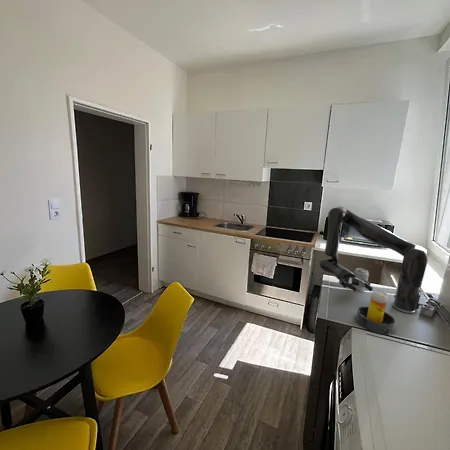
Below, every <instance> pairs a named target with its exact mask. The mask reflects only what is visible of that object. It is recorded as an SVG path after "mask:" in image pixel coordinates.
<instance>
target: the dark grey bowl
mask: <svg viewBox="0 0 450 450" xmlns="http://www.w3.org/2000/svg"><path fill="white" fill-rule="evenodd" d="M368 309H369V305H368V306H359V307H358V308H357V311H356V317H355V321H356V323H357V324H358V325H360V327H362V328H363V329H365V330H367V331H370V332H371V333H375V334H379V335H390V334H392V333H393V332H394V328H395V324H396V319H395V318H394V317H393V316H392V315H391V314H389V313H388V312H386V310H385V311H384V316H383V320H382V324H380V323H376V322H373V321H371V320H368V319H367V313H368Z"/></svg>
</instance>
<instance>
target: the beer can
mask: <svg viewBox="0 0 450 450" xmlns="http://www.w3.org/2000/svg"><path fill="white" fill-rule="evenodd" d="M369 300H370V301H369V303H368V304H369V305H368V307H369V309H368V313H367V319H368V320H371V321H373V322H376V323H380V324H382V320H383V316H384V311H385V312H386V308H387V307H386V306H387V302H388V293H386V292H385V291H384V290H380V289H379V290H378V289H374V290H372V291H371V295H370V299H369Z"/></svg>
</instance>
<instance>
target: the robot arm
mask: <svg viewBox="0 0 450 450" xmlns="http://www.w3.org/2000/svg"><path fill="white" fill-rule="evenodd" d="M342 224H344V225H346V226H349V227H350V228H352V229H353V230H354V231H355V232H356V233H358V234H359V236H361V237H362V238H363V239H365V240H367V241H368V242H371V243H372V244H375V245H377V246H380V247H382V248H385V249H390V250H392V251H394V252H395V253H397V254H399V255H401V256H402V257H403V258H402V263H401V267H400V273H399V277H398V282H397V286H396V291H395V294H394V296H393V298H394V299H393V303H392V307H393V308H394V309H396V310H397V311H399V312H402V313H406V314H414V313H416V312H417V311H418V310H419V308H420V307H423V305H424V304H422V303H420V299H421V294H420V292H421V289H422V284H423V281H424V277H425V273H426V269H427V266H428V261H429V252H428V251H427V249H425V248H424V247H422V246H421V245H417V244H415V243H412V242H410V241H407V240H405V239H404V238H401V237H399V236H397V235H396V234H394V232H393V233H392V232H391V231H389V230H387V229H385V228H383V227H382V226H380V225H378V224H376V223H374V222H371V221H369V220H367V219H365V218H362V217H360V216H358V215H357V214H355V213H354V212H352V211H350V210H349V209H347V208H345V207H344V206H335V207H333V208H331V209H330V210H329V211H328V214H327V236H326V241H325V242H326V243H325V247H324V248H325V249H324V255H326V256H327V257H330V258H322V259H320V260H319V267H320V269H321V270H322V271H325V272H326V273H329V274H331V275H332V276H334V277H335V278H336V279H337V280H338V283H339V284H340V285H341V286H342V287H343V288H344V289H346V288H348V289H350V290H351V291H353V292H357V290H356V287H355V286H359V287H365V288H366V289H365V290H367V291H369V292H373V289H374V287H373V286H372V285H371V282H370V281H369V280H368V281H367V280H365V279H364V278H361V280H360V279H358V278H356V276H355V275H354V273H353V272H352V271H351V270H349V269H348V268H346V267H344V266H343V265H341V264H339V259H338V251H339V245H340V235H339V234H340V228H341V225H342ZM360 282H361V285H359V283H360ZM363 284H364V285H365V286H364V285H363Z"/></svg>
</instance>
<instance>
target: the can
mask: <svg viewBox="0 0 450 450" xmlns="http://www.w3.org/2000/svg"><path fill="white" fill-rule="evenodd" d="M353 274H354V275H355V276H356V278H358V279H360V280H361V278H364V279H365V280H367V281H369V276H370V273H369V270H367V269H365V268H362V267H357V268H356V269H355V270H354V273H353ZM359 285H361V282H360V283H359ZM363 285H364V284H363ZM364 286H365V285H364ZM355 287H356V291H363V292H364V291H366V290H367V289H366V288H365V287H359V286H355Z"/></svg>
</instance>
